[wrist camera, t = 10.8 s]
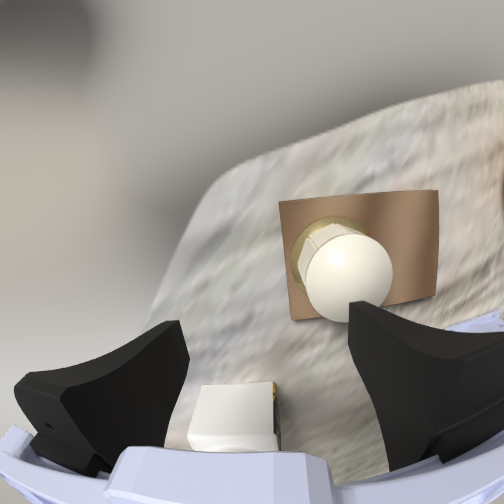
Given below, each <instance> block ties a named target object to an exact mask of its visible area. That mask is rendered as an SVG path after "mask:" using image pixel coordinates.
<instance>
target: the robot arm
mask: <svg viewBox="0 0 504 504" xmlns="http://www.w3.org/2000/svg"><path fill="white" fill-rule="evenodd" d="M500 315H501V311H500V310H499V309H498V310H495V311H493V312H490V313H487V314H485V315H482V316H479V317H476V318H474V319H471V320H468V321H465V322H462V323H459V324H456V325H453V326H449V327H446V328H445V329H444V330H443V329H437V328H433V327H429V326H425V325H422V324H418V323H415V322H412V321H410V320H407V319H404V318H402V317H399V316H397V315H395V314H392V313H390V312H388V311H386V310H384V309H382V308H379V307H377V306H375V305H373V304H371V303H368V302H366V301H363V300H362V301H356V302H349V327H348V345H349V349H350V352H351V355H352V358H353V361H354V363H355V366H356V368H357V370H358V372H359V374H360V376H361V378H362V380H363V382H364V384H365V387H366V389H367V391H368V393H369V395H370V397H371V399H372V402H373V404H374V407H375V410H376V414H377V417H378V420H379V424H380V428H381V431H382V435H383V439H384V444H385V448H386V453H387V458H388V463H389V470H390V472H388V473H385V474H382V475H378V476H375V477H371V478H367V479H363V480H359V481H355V482H350V483H345V484H340V485H334V483H333V477H332V471H331V469H330V467H329V465H328V463H327V462H326V460H324V459H321V458H318V457H315V456H312V455H309V454H306V453H303V452H289V451H262V452H207V451H191V450H180V449H170V448H164V443H165V438H166V433H167V429H168V425H169V421H170V418H171V415H172V412H173V410H174V407H175V404H176V402H177V399H178V397H179V394H180V392H181V389H182V386H183V384H184V381H185V378H186V375H187V371H188V366H189V361H190V357H189V354H188V350H187V347H186V343H185V340H184V336H183V333H182V329H181V325H180V322H179V320H174V321H165V322H163V323H161V324H159V325H157V326H155V327H154V328H152V329H150V330H149V331H147V332H145V333H144V334H142V335H141V336H139V337H137V338H136V339H134V340H132V341H130V342H129V343H127V344H125V345H124V346H122V347H120V348H118V349H116V350H114V351H112V352H110V353H108V354H106V355H103V356H101V357H98V358H96V359H93V360H90V361H87V362H84V363H81V364H78V365H74V366H70V367H66V368H61V369H56V370H49V371H38V372H29V373H28V374H26V375H25V377H23V378H22V379H21V380H20V381H19V382H18V383H17V384H16V385H15V386H14V394H15V398H16V400H17V403H18V404H19V406H20V408H21V409H22V411H23V412H24V414H25V415H26V417H27V418H28V420H29V421H30V422H31V424H32V425H33V426H34V428H35V429H36V431H37V432H38V433H37V435H36V436H35V437H34V436H33V435H32V434H30V433H29V432H27V431H25V430H24V429H21V428H20V427H18V426H16V425H12V426H11V428H10V429H9V430H8V431H7V433H6V434H5V435H4V436H3V437H2V439H1V440H0V476H1V477H2V478H3V479H4V480H5V481H6V482H7V483H9V484H10V485H11V486H12V487H13V488H14V489H15V490H16V491H17V492H18V493H20V494H21V495H22V496H23V497H25V498H26V499H27V500H29V501H30V502H32V503H33V504H489V503H490V502H492V501H493V500H495V499H496V498H497V497H499V496H500V495H501V494H503V493H504V321H503V320H502V319H500Z"/></svg>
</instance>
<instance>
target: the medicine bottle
mask: <svg viewBox="0 0 504 504" xmlns="http://www.w3.org/2000/svg"><path fill="white" fill-rule="evenodd" d="M187 439H188V441H189V443H190V445H191V447H192V449H193V451H207V452H262V451H281V432H280V420H279V412H278V404H277V397H276V389H275V384H274V382H273V381H267V382H255V383H239V384H213V385H202V386H201V389H200V392H199V396H198V399H197V402H196V406H195V409H194V412H193V416H192V419H191V422H190V426H189V429H188V432H187Z"/></svg>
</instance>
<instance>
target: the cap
mask: <svg viewBox="0 0 504 504" xmlns="http://www.w3.org/2000/svg"><path fill="white" fill-rule="evenodd" d="M309 237H310V239H308V238H306V240H305V243H304V246H303V249H302V252H301V254H300V257H299V260H298V263H297V264H298V269H299V272H300V275H301V277H302V280H303V283H304V285H305V287H306V291H307V295H308V297H309V300H310V302H311V304H312V306H313V307H314V308H315V310H316V311H317V312H318V313H319V314H321V315H322V316H324V317H325V318H327V319H329V320H332V321H336V322H349V302H356V301H362V300H363V301H366V302H368V303H371V304H373V305H375V306H377V307H379V306H380V305H381V304H382V303H383V301H384V300H385V298H386V296H387V294H388V293H389V290H390V287H391V283H392V277H393V270H392V264H391V260H390V258H389V255H388V254H387V252H386V250H385V249H384V248H383V247H382V246H381V245H380V244H379V243H378V242H377V241H375V240H373V239H372V238H370V237H368V236H366V235H365V234H363V233H361V232H359V231H357V230H354V229H351V228H348V227H346V226H343V225H340V224H337V223H336V224H333V223H332V224H330V225H328V226H326V227H324V228H322V229H320V230H318V231H316V232H314V233H312V234H310V235H309Z"/></svg>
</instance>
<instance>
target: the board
mask: <svg viewBox="0 0 504 504" xmlns="http://www.w3.org/2000/svg"><path fill="white" fill-rule="evenodd" d="M279 210H280V218H281V227H282V236H283V245H284V254H285V263H286V273H287V283H288V294H289V305H290V315H291V320H300V319H308V318H315V317H322V315H321V314H319V313H318V312H317V311H316V310H315V308H314V307H313V306H312V304H311V302H310V300H309V297H308V295H306V294H305V293H304V292H303V291H302V290H301V289H300V288H299V287H298V285H297V283H296V282H295V280H294V277H293V274H292V271H291V265H290V258H291V251H292V248H293V245H294V242H295V241H296V239H297V237H298V236H299V234H300V233H301V232H302V231H303V229H304V228H306V227H307V226H308V225H309V224H311V223H312V222H314V221H316V220H318V219H321V218H324V217H328V216H342V217H346V218H349V219H351V220H354V221H355V222H357V223H359V224H360V225H361V226H362V227H364V229H365V230H366V231H367V232H368V233H369V235H370V237H371V238H372V239H373V240H375V241H377V242H378V243H379V244H380V245H381V246H382V247H383V248H384V249H385V250H386V252H387V254H388V255H389V258H390V260H391V264H392V270H393V277H392V283H391V287H390V290H389V293H388V294H387V296H386V298H385V300H384V301H383V303H382V304H381V305H380V306H379V307H383V306H388V305H393V304H398V303H403V302H408V301H413V300H417V299H422V298H426V297H431V296H435V291H436V281H437V269H438V251H439V201H438V190H413V191H394V192H379V193H365V194H352V195H340V196H329V197H318V198H308V199H299V200H290V201H281V202H279Z"/></svg>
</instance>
